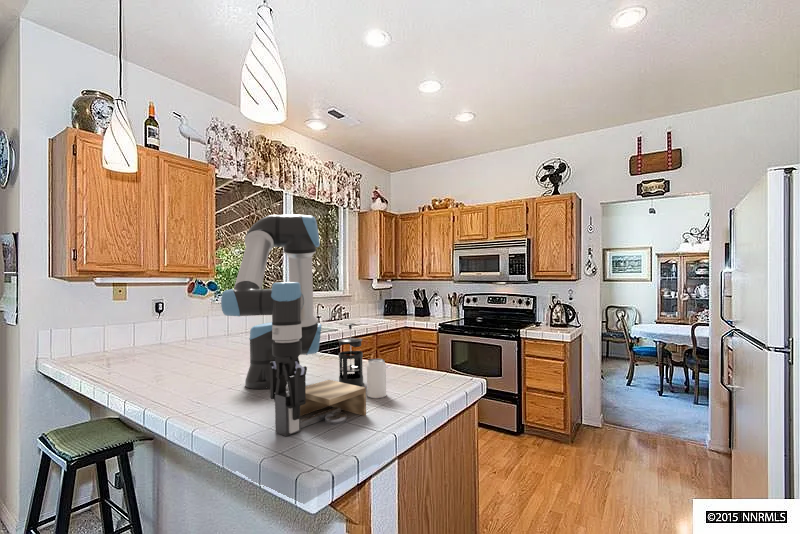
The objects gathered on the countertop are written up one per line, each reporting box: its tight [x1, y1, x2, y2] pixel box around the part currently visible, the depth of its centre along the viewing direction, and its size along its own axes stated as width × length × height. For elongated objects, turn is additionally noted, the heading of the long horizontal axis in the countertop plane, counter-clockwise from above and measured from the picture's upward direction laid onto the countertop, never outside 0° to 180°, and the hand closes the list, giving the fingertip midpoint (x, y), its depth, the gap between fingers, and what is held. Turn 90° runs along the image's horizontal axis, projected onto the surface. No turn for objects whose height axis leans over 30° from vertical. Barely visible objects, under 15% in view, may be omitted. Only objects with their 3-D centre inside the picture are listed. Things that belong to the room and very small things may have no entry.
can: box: [366, 358, 387, 399], centre depth 137 cm, size 6×6×12 cm
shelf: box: [300, 379, 367, 417], centre depth 118 cm, size 16×14×8 cm
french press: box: [338, 322, 365, 387], centre depth 152 cm, size 12×9×23 cm
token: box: [324, 411, 347, 425], centre depth 115 cm, size 6×6×1 cm
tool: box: [274, 390, 342, 437], centre depth 113 cm, size 4×20×10 cm, turn 142°
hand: (287, 429), depth 106 cm, fingers closed on tool, 4 cm apart
